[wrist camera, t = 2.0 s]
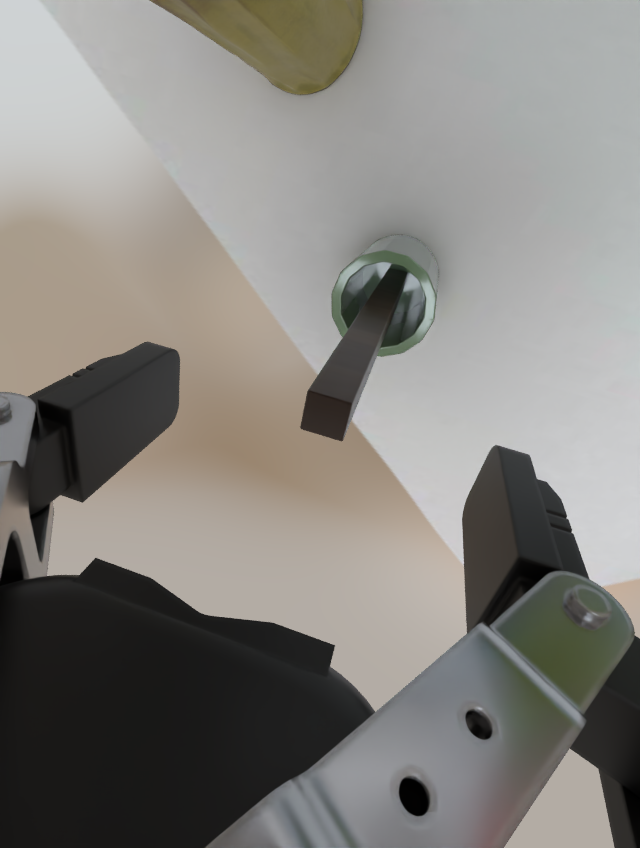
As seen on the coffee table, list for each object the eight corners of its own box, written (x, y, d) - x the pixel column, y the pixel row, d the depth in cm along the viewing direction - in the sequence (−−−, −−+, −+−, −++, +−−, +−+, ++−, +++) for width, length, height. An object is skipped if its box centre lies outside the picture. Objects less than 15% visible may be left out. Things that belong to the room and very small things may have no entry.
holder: (366, 225, 26) (342, 239, 20) (451, 246, 25) (452, 266, 19) (347, 307, 29) (321, 340, 23) (424, 327, 28) (417, 367, 22)
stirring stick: (388, 267, 26) (307, 390, 11) (408, 272, 26) (352, 403, 11) (383, 287, 27) (299, 429, 12) (402, 292, 27) (342, 442, 12)
